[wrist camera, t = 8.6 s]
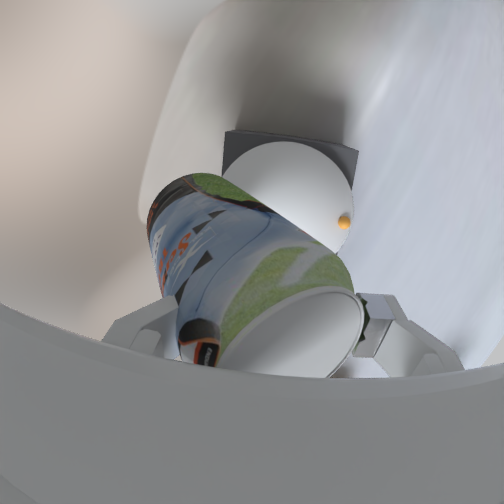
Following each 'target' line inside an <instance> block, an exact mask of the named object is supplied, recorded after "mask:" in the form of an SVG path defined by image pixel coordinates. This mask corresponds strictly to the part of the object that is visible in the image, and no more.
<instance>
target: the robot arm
mask: <svg viewBox="0 0 504 504" xmlns="http://www.w3.org/2000/svg"><path fill="white" fill-rule="evenodd" d="M356 296H358V298H359V299H360V301H361V303H362V305H363V309H364V324H363V328H362V332H361V335H360V337H359V340H358V342H357V343H356V345H355V347H354V349H353V350H352V355H353V357H368V358H373V359H374V360H375V361H376V362H377V363H378V364H379V365H380V366H381V368H382V369H383V370H384V371H385V372H386V373H387V374H388V375H389V376H390V377H389V378H315V377H296V376H283V375H271V374H261V373H252V372H244V371H236V370H229V369H222V368H216V367H210V366H204V365H198V364H192V363H187V362H182V361H177V360H174V359H175V358H176V357H177V356H179V355H180V353H179V350H178V347H177V342H176V337H175V329H176V318H177V313H178V308H179V306H178V304H177V302H176V299H175V297H174V295H173V296H170V295H169V296H166V297H164V298H162V299H160V300H158V301H156V302H154V303H152V304H150V305H147V306H145V307H143V308H141V309H139V310H137V311H135V312H132V313H130V314H128V315H126V316H124V317H122V318H120V319H117V320H115V321H114V323H113V324H112V326H111V327H110V329H109V330H108V332H107V333H106V335H105V336H104V338H103V339H102V341H98V340H95V339H92V338H88V337H85V336H82V335H79V334H76V333H73V332H70V331H67V330H65V329H62V328H59V327H56V326H54V325H51V324H48V323H46V322H43V321H41V320H38V319H36V318H34V317H31V316H29V315H26V314H24V313H22V312H19V311H17V310H15V309H13V308H10V307H8V306H6V305H4V304H2V303H0V504H504V363H500V364H496V365H491V366H486V367H480V368H475V369H469V370H465V369H464V367H463V365H462V364H461V362H460V360H459V358H458V356H457V354H456V353H455V351H454V350H452V349H451V348H449V347H448V346H447V345H445V344H444V343H443V342H441V341H440V340H438V339H437V338H436V337H434V336H433V335H431V334H430V333H429V332H427V331H426V330H424V329H423V328H421V327H420V326H419V325H417V324H416V323H414V322H413V321H411V320H408V319H407V317H406V315H405V314H404V312H403V310H402V308H401V306H400V305H399V303H398V301H397V299H396V298H395V296H393V295H387V294H368V293H356Z"/></svg>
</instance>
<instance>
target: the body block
mask: <svg viewBox="0 0 504 504" xmlns="http://www.w3.org/2000/svg"><path fill="white" fill-rule="evenodd" d="M358 152H359V151H358V150H355V149H352V148H350V147H347V146H344V145H340V144H335V143H330V142H325V141H319V140H313V139H307V138H300V137H294V136H286V135H279V134H271V133H262V132H252V131H241V130H232V131H227V132H225V141H224V153H223V166H222V178H224V179H226V180H228V181H229V182H231V183H232V184H234V185H236V186H237V187H239V188H240V189H242V190H243V191H245V192H246V193H248V194H250V195H251V196H253V197H254V198H256V199H257V200H259V201H260V202H262V203H263V204H265V205H266V206H268V207H269V208H271V209H272V210H274V211H275V212H277V213H278V214H280V215H281V216H283V217H284V218H286V219H287V220H289V221H290V222H291V223H293V224H294V225H296V226H297V227H299V228H300V229H302V230H303V231H305V232H306V233H307V234H309V235H310V236H312V237H313V238H315V239H316V240H317V241H319V242H320V243H322V244H323V245H325V246H326V247H327V248H329V249H330V250H331V251H333V252H334V253H335V254H336V255H337V252H338V250H339V249H340V248H341V246H342V245H343V243H344V242H345V240H346V238H347V236H348V234H349V232H350V229H351V225H352V221H353V214H354V204H353V196H352V193H351V191H352V185H353V180H354V175H355V170H356V164H357V158H358Z"/></svg>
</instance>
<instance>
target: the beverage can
mask: <svg viewBox="0 0 504 504" xmlns="http://www.w3.org/2000/svg"><path fill="white" fill-rule="evenodd" d="M147 234H148V240H149V244H150V249H151V253H152V258H153V262H154V266H155V270H156V274H157V278H158V282H159V286H160V290H161V294H162V297H163V298H164V297H166V296H169V295H170V296H173V295H174V297H175V299H176V302H177V304H178V306H179V308H178V313H177V318H176V329H175V337H176V342H177V347H178V350H179V353H180V356H181V359H182V361H183V362H187V363H192V364H198V365H204V366H210V367H216V368H222V369H229V370H236V371H244V372H252V373H261V374H271V375H283V376H296V377H315V378H329V377H331V376H332V375H333V374H334V373H335V372H336V371H337V370H338V369H339V368H340V366H341V365H342V364H343V363H344V362H345V360H346V359H347V358H348V356H349V355H350V353H351V352H352V350H353V349H354V347H355V345H356V343H357V342H358V340H359V337H360V335H361V332H362V328H363V324H364V309H363V305H362V303H361V301H360V299H359V298H358V296H356V295H355V294H354V288H353V284H352V280H351V277H350V274H349V272H348V270H347V268H346V267H345V265H344V263H343V262H342V260H341V259H340V258H339V257H338V256H337V255H336V254H335V253H334V252H333V251H331V250H330V249H329V248H327V247H326V246H325V245H323V244H322V243H320V242H319V241H317V240H316V239H315V238H313V237H312V236H310V235H309V234H307V233H306V232H305V231H303V230H302V229H300V228H299V227H297V226H296V225H294V224H293V223H291V222H290V221H289V220H287V219H286V218H284V217H283V216H281V215H280V214H278V213H277V212H275V211H274V210H272V209H271V208H269V207H268V206H266V205H265V204H263V203H262V202H260V201H259V200H257V199H256V198H254V197H253V196H251V195H250V194H248V193H246V192H245V191H243V190H242V189H240V188H239V187H237V186H236V185H234V184H232V183H231V182H229V181H228V180H226V179H224V178H222V177H220V176H217V175H214V174H208V173H195V174H190V175H186V176H183V177H181V178H178V179H176V180H174V181H173V182H171V183H170V184H169V185H167V186H166V187H165V188H164V189H163V190H162V191H161V192H160V193H159V194H158V196H157V197H156V198H155V200H154V201H153V204H152V206H151V208H150V210H149V214H148V218H147Z"/></svg>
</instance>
